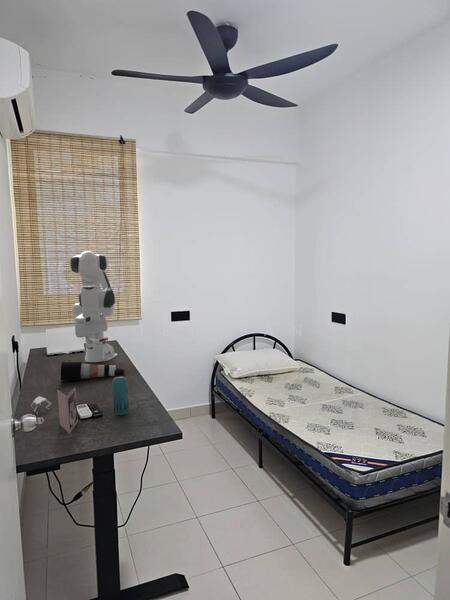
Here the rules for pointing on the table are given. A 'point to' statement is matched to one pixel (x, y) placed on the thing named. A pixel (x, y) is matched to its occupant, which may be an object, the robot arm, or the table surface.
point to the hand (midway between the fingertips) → (93, 342)
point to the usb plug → (94, 343)
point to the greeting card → (68, 410)
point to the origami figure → (39, 400)
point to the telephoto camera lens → (85, 370)
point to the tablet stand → (63, 341)
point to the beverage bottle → (120, 393)
